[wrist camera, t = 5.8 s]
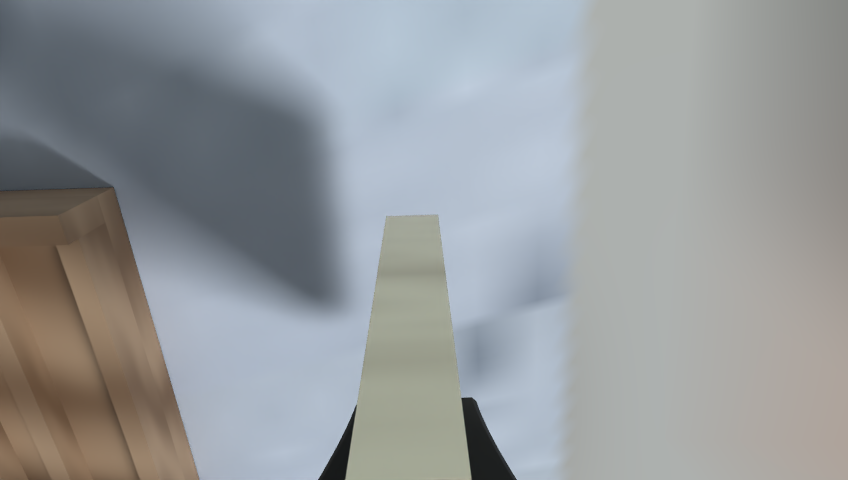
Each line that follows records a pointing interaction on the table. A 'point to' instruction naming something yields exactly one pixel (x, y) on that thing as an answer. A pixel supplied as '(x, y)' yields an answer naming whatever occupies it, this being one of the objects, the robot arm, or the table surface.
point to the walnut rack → (80, 347)
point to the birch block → (410, 366)
